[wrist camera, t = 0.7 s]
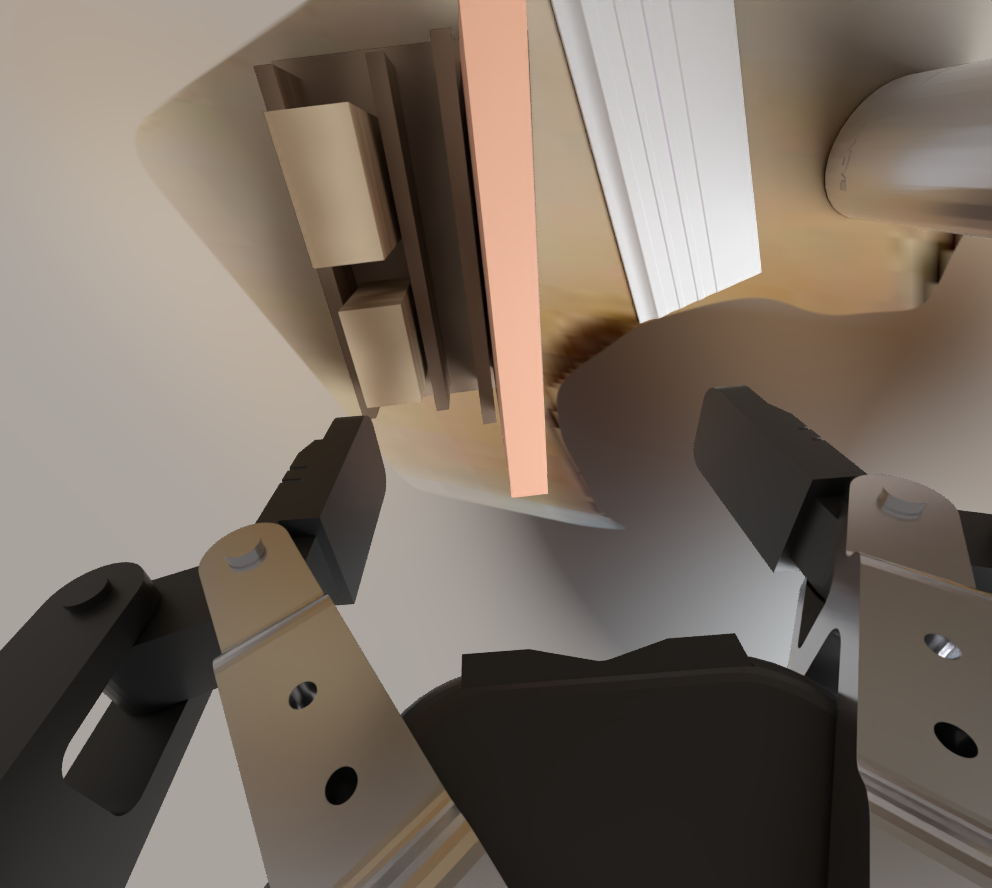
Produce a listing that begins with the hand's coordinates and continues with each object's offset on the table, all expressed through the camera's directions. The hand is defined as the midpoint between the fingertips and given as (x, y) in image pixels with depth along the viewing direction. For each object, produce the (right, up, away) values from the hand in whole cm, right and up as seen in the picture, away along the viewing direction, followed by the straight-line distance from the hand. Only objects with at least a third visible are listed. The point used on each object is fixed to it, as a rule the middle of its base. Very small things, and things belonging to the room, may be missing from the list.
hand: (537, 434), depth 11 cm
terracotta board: (-1, +15, +23) cm, 27 cm away
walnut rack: (-5, +16, +24) cm, 30 cm away
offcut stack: (-10, +14, +23) cm, 28 cm away
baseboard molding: (+10, +25, +21) cm, 34 cm away
